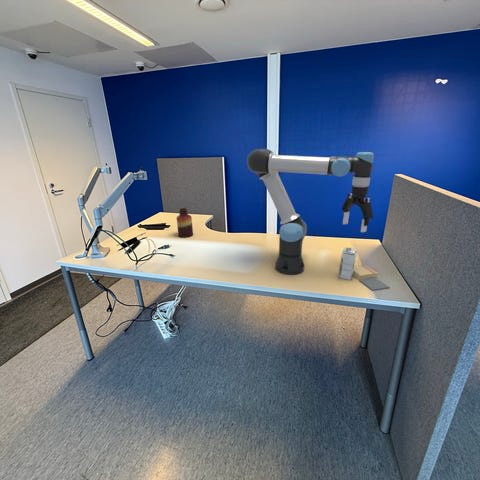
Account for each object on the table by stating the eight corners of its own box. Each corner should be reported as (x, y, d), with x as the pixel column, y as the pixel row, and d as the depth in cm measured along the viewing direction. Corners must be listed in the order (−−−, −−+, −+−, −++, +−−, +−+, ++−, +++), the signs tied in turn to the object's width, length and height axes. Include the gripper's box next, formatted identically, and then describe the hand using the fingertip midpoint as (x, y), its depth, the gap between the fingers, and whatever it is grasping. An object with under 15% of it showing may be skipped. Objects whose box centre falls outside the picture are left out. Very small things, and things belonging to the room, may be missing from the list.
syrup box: (340, 273, 130) (343, 246, 125) (352, 275, 127) (356, 248, 122) (338, 277, 126) (341, 250, 120) (351, 280, 123) (355, 252, 118)
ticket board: (358, 280, 123) (359, 275, 122) (347, 271, 131) (348, 267, 130) (376, 277, 125) (377, 272, 124) (364, 269, 133) (365, 264, 132)
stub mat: (372, 290, 114) (372, 289, 114) (359, 281, 122) (359, 280, 122) (389, 288, 116) (389, 286, 115) (375, 278, 124) (375, 277, 124)
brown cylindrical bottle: (181, 238, 184) (178, 211, 177) (176, 234, 193) (173, 208, 186) (195, 236, 189) (192, 209, 182) (190, 232, 198) (187, 206, 191)
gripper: (387, 189, 113) (378, 234, 120) (349, 182, 135) (344, 220, 143) (373, 190, 111) (365, 236, 119) (337, 182, 133) (332, 221, 141)
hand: (353, 227), depth 131 cm, fingers open, 13 cm apart
